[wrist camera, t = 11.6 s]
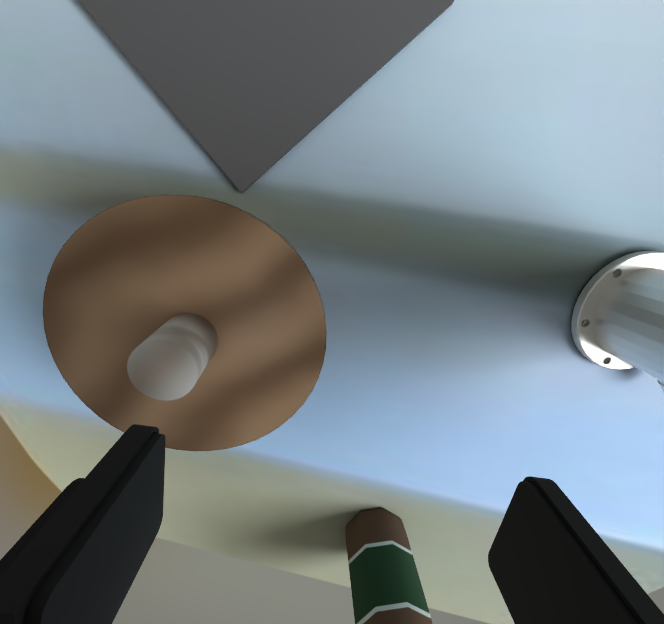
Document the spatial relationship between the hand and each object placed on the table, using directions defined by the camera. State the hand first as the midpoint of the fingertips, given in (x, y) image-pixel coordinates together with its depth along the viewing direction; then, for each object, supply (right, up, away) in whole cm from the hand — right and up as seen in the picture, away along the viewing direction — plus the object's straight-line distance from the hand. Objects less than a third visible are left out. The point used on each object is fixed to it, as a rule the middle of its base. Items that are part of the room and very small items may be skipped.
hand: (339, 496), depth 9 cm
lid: (-11, +3, +17) cm, 21 cm away
